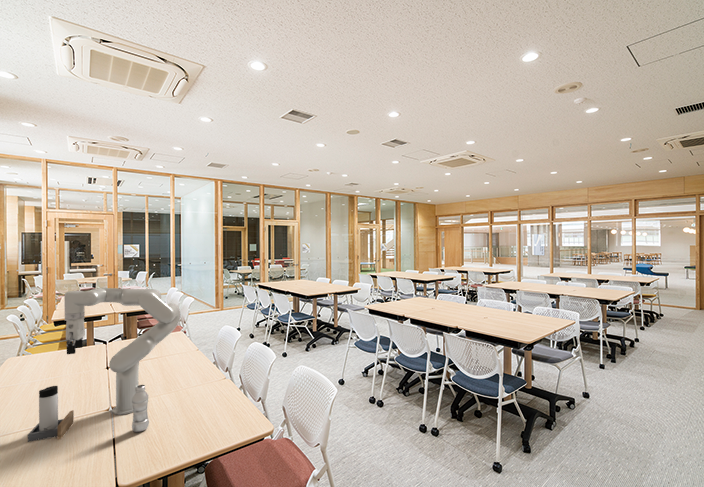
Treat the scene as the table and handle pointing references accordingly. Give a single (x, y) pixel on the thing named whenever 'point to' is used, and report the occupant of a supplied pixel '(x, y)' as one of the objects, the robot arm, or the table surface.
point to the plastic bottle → (140, 409)
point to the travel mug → (48, 408)
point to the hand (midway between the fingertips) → (75, 350)
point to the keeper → (42, 433)
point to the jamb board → (65, 424)
